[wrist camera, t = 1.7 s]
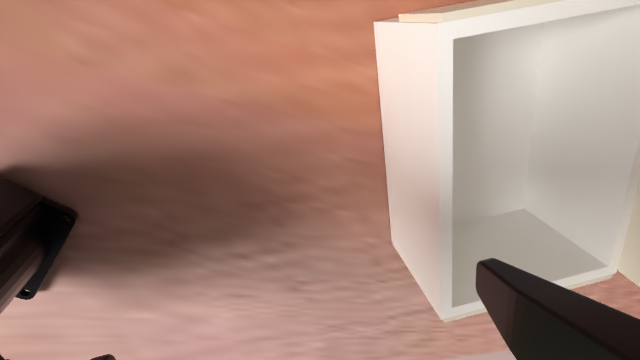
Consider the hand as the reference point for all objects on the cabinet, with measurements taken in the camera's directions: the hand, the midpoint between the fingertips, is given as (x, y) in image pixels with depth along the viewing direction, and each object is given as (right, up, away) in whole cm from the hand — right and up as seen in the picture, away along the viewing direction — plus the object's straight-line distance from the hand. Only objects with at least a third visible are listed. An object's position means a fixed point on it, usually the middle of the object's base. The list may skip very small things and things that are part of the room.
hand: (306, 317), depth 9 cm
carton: (+9, +6, +13) cm, 17 cm away
